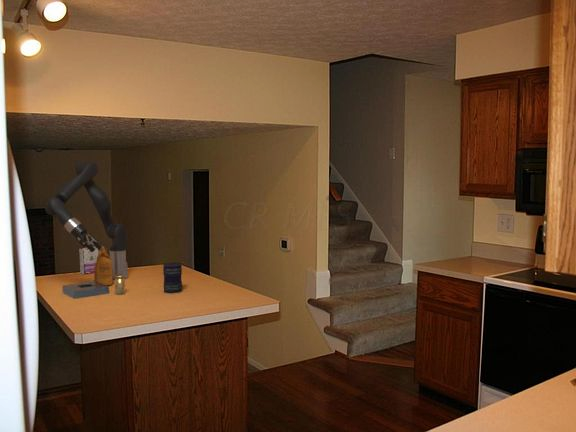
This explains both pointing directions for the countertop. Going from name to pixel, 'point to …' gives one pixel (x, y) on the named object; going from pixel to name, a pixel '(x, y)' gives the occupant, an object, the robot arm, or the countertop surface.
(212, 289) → the countertop surface
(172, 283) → the storage jar
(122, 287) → the brass mushroom peg
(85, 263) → the candy bar box
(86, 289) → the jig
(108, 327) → the countertop surface
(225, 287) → the countertop surface
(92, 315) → the countertop surface
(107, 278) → the coffee package
